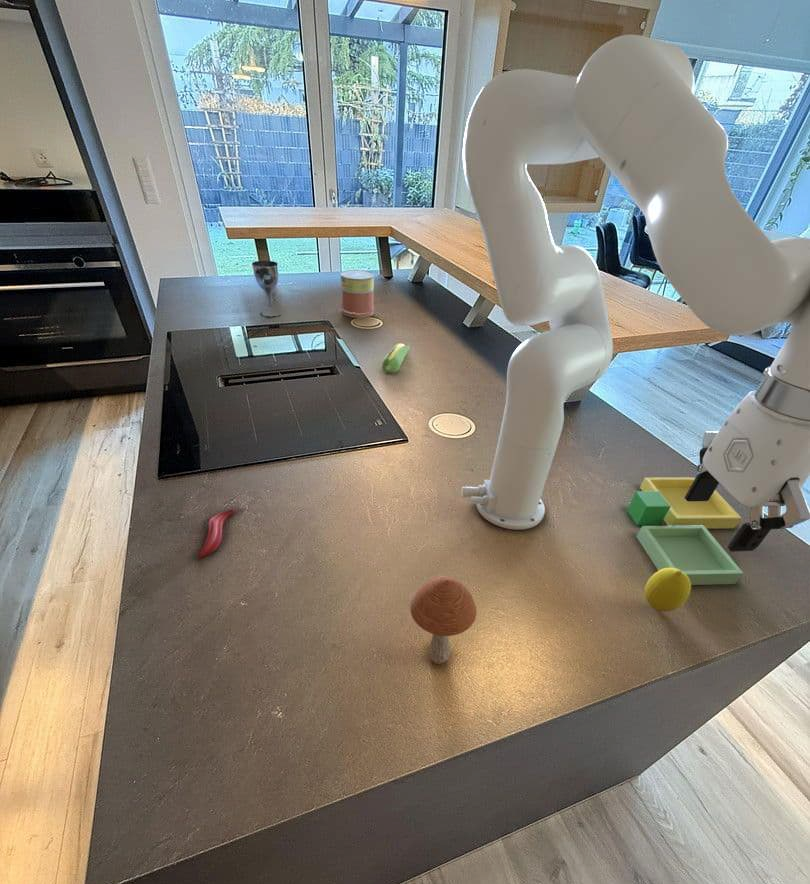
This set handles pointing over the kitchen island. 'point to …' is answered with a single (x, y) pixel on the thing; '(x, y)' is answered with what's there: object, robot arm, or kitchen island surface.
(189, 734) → the kitchen island surface
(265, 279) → the wine glass
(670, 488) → the yellow tray
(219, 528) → the cayenne pepper
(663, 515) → the green cube
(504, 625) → the kitchen island surface
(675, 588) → the lemon
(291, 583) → the kitchen island surface
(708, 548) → the green tray
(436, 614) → the mushroom
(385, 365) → the edible corn
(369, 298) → the canned food
